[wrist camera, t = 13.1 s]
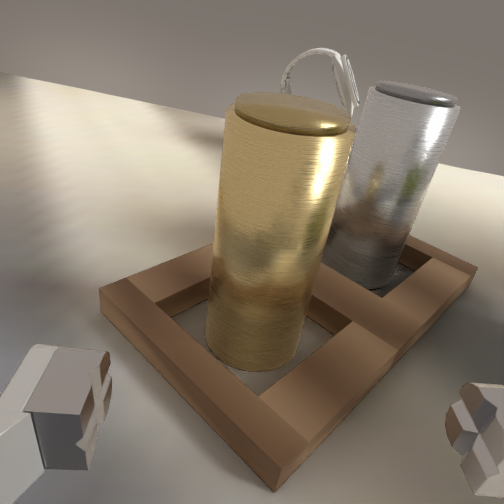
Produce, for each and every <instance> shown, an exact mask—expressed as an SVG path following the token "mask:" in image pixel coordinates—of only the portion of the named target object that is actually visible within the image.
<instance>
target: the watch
mask: <svg viewBox="0 0 504 504" xmlns="http://www.w3.org/2000/svg"><path fill="white" fill-rule="evenodd" d="M315 53H317V54H326V55H329V56H331V61H332V62H333V74H334V78H335V82H336V86H337V90H338V93H339V96H340V99H341V102H342V104H343V106H344V107H345V108H346V109H347V113H349V114H350V116H352V114H353V109H354V107H355V106H359V97H358V92H357V87H356V83H355V79H354V75H353V72H352V69H351V65H350V62H349V60H348V58H347V56H346V55H343V57H341V56H340V55H339V53H338V52H336V51H334V50H331V49H326V48H315V49H311V50H309V51H306V52H304V53H302V54H301V55H299V56H298V57H296V58H295V59H294V60H293V61H292V62H291V63H290V64H289V65H288V67H287V68H286V70H285V73H284V74H283V77H282V83H281V85H280V93H281V94H289V95H292V94H291V86H290V77H289V74H290V71H291V69H292V68H293V66H294V65H295V63H296V62H297V61H298V60H300V59H301V58H303V57H305V56H307V55H311V54H315Z"/></svg>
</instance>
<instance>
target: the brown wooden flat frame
mask: <svg viewBox="0 0 504 504" xmlns="http://www.w3.org/2000/svg"><path fill="white" fill-rule="evenodd" d="M212 254H213V244H210V245H208V246H205V247H203V248H200V249H197V250H195V251H192V252H190V253H187V254H185V255H182V256H180V257H177V258H175V259H172V260H170V261H167V262H165V263H162V264H159V265H157V266H154V267H152V268H149V269H147V270H144V271H142V272H139V273H137V274H134V275H132V276H129V277H126V278H124V279H121V280H119V281H116V282H114V283H111V284H109V285H106V286H104V287H101V288H99V296H100V306H101V312H102V313H103V314H104V315H105V316H106V317H107V318H108V319H109V320H110V321H111V322H112V323H113V325H114V326H115V327H116V328H117V329H118V330H119V331H120V332H121V333H122V334H123V335H124V336H125V337H126V338H127V339H128V340H129V341H130V342H131V343H132V344H133V345H134V346H135V348H136V349H137V350H138V351H139V352H140V353H141V354H142V355H143V356H144V357H145V358H146V359H147V360H148V361H149V362H150V363H151V364H152V365H153V366H154V367H155V368H156V369H157V370H158V372H159V373H160V374H161V375H162V376H163V377H164V378H165V379H166V380H167V381H168V382H169V383H170V384H171V385H172V386H173V387H174V388H175V389H176V390H177V391H178V392H179V393H180V395H181V396H182V397H183V398H184V399H185V400H186V401H187V402H188V403H189V404H190V405H191V406H192V407H193V408H194V409H195V410H196V411H197V412H198V413H199V414H200V415H201V416H202V418H203V419H204V420H205V421H206V422H207V423H208V424H209V425H210V426H211V427H212V428H213V429H214V430H215V431H216V432H217V433H218V434H219V435H220V436H221V437H222V438H223V439H224V441H225V442H226V443H227V444H228V445H229V446H230V447H231V448H232V449H233V450H234V451H235V452H236V453H237V454H238V455H239V456H240V457H241V458H242V459H243V460H244V461H245V462H246V463H247V465H248V466H249V467H250V468H251V469H252V470H253V471H254V472H255V473H256V474H257V475H258V476H259V477H260V478H261V479H262V480H263V481H264V482H265V483H266V484H267V485H268V486H269V488H270V489H271V490H272V491H273V492H274V493H275V491H276V490H277V489H278V488H279V487H280V486H281V485H282V484H283V483H284V482H285V481H286V480H287V479H288V478H289V477H290V476H291V474H292V473H293V472H294V471H295V470H296V469H297V468H298V467H299V466H300V465H301V464H302V463H303V462H304V461H305V460H306V458H307V457H308V456H309V455H310V454H311V453H312V452H313V451H314V450H315V449H316V448H317V447H318V446H319V445H320V444H321V443H322V441H323V440H324V439H325V438H326V437H327V436H328V435H329V434H330V433H331V432H332V431H333V430H334V429H335V428H336V427H337V426H338V424H339V423H340V422H341V421H342V420H343V419H344V418H345V417H346V416H347V415H348V414H349V413H350V412H351V411H352V410H353V409H354V407H355V406H356V405H357V404H358V403H359V402H360V401H361V400H362V399H363V398H364V397H365V396H366V395H367V394H368V393H369V391H370V390H371V389H372V388H373V387H374V386H375V385H376V384H377V383H378V382H379V381H380V380H381V379H382V378H383V377H384V376H385V374H386V373H387V372H388V371H389V370H390V369H391V368H392V367H393V366H394V365H395V364H396V363H397V362H398V361H399V360H400V359H401V357H402V356H403V355H404V354H405V353H406V352H407V351H408V350H409V349H410V348H411V347H412V346H413V345H414V344H415V343H416V342H417V340H418V339H419V338H420V337H421V336H422V335H423V334H424V333H425V332H426V331H427V330H428V329H429V328H430V327H431V326H432V324H433V323H434V322H435V321H436V320H437V319H438V318H439V317H440V316H441V315H442V314H443V313H444V312H445V311H446V310H447V309H448V307H449V306H450V305H451V304H452V303H453V302H454V301H455V300H456V299H457V298H458V297H459V296H460V295H461V294H462V293H463V292H464V290H465V289H466V288H467V287H468V286H469V285H470V283H471V281H472V279H473V277H474V275H475V273H476V271H477V269H478V267H476V266H473V265H471V264H469V263H467V262H465V261H463V260H461V259H459V258H457V257H454V256H452V255H450V254H448V253H446V252H444V251H442V250H440V249H437V248H435V247H433V246H431V245H429V244H427V243H425V242H423V241H420V240H418V239H416V238H414V237H412V236H410V235H409V236H408V238H407V241H406V243H405V246H404V248H403V251H402V253H401V255H400V258H399V260H398V262H400V263H401V264H403V265H405V266H407V267H409V268H411V269H413V270H415V272H414V273H413V274H412V275H410V276H409V277H408V278H406V279H405V280H404V281H403V282H401V283H400V284H399V285H398V286H396V287H395V288H394V289H393V290H391V291H390V292H389V293H388V294H386V295H385V296H384V297H383V298H381V297H379V296H378V295H376V294H374V293H372V292H371V291H369V290H367V289H366V288H364V287H362V286H360V285H359V284H357V283H355V282H354V281H352V280H350V279H349V278H347V277H345V276H343V275H342V274H340V273H338V272H337V271H335V270H333V269H331V268H330V267H328V266H326V265H325V264H323V263H320V267H319V270H318V274H317V278H316V282H315V285H314V289H313V293H312V296H311V300H310V304H309V307H308V311H307V316H308V317H310V318H311V319H312V320H314V321H315V322H317V323H318V324H320V325H321V326H323V327H324V328H326V329H327V330H328V331H330V332H331V333H333V334H334V335H335V336H334V337H332V338H331V339H330V340H329V341H327V342H326V343H325V344H324V345H322V346H321V347H320V348H319V349H317V350H316V351H315V352H314V353H312V354H311V355H310V356H309V357H307V358H306V359H305V360H304V361H302V362H301V363H300V364H299V365H297V366H296V367H295V368H294V369H292V370H291V371H290V372H289V373H287V374H286V375H285V376H284V377H282V378H281V379H280V380H279V381H277V382H276V383H275V384H273V385H272V386H271V387H270V388H268V389H267V390H266V391H265V392H263V393H262V394H261V395H260V396H257V395H256V394H255V393H254V392H253V391H252V390H250V389H249V388H248V387H247V386H246V385H245V384H244V383H243V382H242V381H240V380H239V379H238V378H237V377H236V376H235V375H234V374H233V373H232V372H230V371H229V370H228V369H227V368H226V367H225V366H224V365H223V364H222V363H220V362H219V361H218V360H217V359H216V358H215V357H214V356H213V355H212V354H210V353H209V352H208V351H207V350H206V349H205V348H204V347H203V346H202V345H200V344H199V343H198V342H197V341H196V340H195V339H194V338H193V337H192V336H190V335H189V334H188V333H187V332H186V331H185V330H184V329H183V328H182V327H180V326H179V325H178V324H177V323H176V322H175V321H174V320H173V319H172V318H171V317H173V316H175V315H177V314H179V313H181V312H182V311H184V310H186V309H188V308H190V307H192V306H194V305H196V304H198V303H200V302H202V301H204V300H206V299H208V296H209V285H210V275H211V264H212Z"/></svg>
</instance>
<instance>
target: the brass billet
mask: <svg viewBox="0 0 504 504" xmlns="http://www.w3.org/2000/svg"><path fill="white" fill-rule="evenodd" d="M350 120H351V116H350V114H349V113H347V112H346V111H344V110H343V109H341V108H338V107H337V106H334V105H331V104H329V103H325V102H322V101H318V100H314V99H311V98H306V97H301V96H296V95H289V94H281V93H268V92H256V93H246V94H242V95H239V96H237V97H236V103H234V104H231V105H229V106H228V107H227V109H226V118H225V128H224V139H223V149H222V160H221V170H220V181H219V191H218V201H217V212H216V222H215V233H214V243H213V254H212V264H211V275H210V285H209V296H208V306H207V317H206V327H205V338H206V342H207V344H208V346H209V348H210V350H211V351H212V352H213V354H214V355H215V356H216V357H218V358H219V359H220V360H221V361H223V362H224V363H226V364H228V365H230V366H232V367H235V368H237V369H241V370H245V371H252V372H263V371H270V370H274V369H277V368H279V367H281V366H283V365H285V364H286V363H288V362H289V361H290V360H291V359H292V358H293V357H294V355H295V353H296V351H297V348H298V344H299V341H300V337H301V333H302V330H303V326H304V322H305V318H306V315H307V311H308V307H309V304H310V300H311V296H312V293H313V289H314V285H315V282H316V278H317V274H318V270H319V267H320V263H321V259H322V256H323V252H324V248H325V245H326V241H327V237H328V234H329V230H330V226H331V222H332V219H333V215H334V211H335V208H336V204H337V200H338V197H339V193H340V189H341V186H342V182H343V178H344V174H345V171H346V167H347V163H348V160H349V156H350V152H351V149H352V145H353V141H354V138H355V134H356V128H355V126H354V125H352V124H351V123H350Z"/></svg>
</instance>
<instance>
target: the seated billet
mask: <svg viewBox="0 0 504 504" xmlns="http://www.w3.org/2000/svg"><path fill="white" fill-rule="evenodd" d="M457 99H458V98H457V97H455V96H453V95H450V94H447V93H444V92H440V91H437V90H433V89H429V88H425V87H420V86H416V85H411V84H406V83H400V82H393V81H384V80H379V81H377V84H376V87H370V88H369V91H368V95H367V98H366V101H365V105H364V109H363V112H362V115H361V119H360V122H359V126H358V129H357V133H356V136H355V139H354V143H353V146H352V150H351V153H350V156H349V160H348V163H347V167H346V171H345V174H344V178H343V182H342V186H341V189H340V193H339V197H338V200H337V204H336V208H335V211H334V215H333V219H332V222H331V226H330V230H329V234H328V237H327V241H326V245H325V248H324V252H323V256H322V259H321V263H323V264H325V265H326V266H328V267H330V268H331V269H333V270H335V271H337V272H338V273H340V274H342V275H343V276H345V277H347V278H349V279H350V280H352V281H354V282H355V283H357V284H359V285H360V286H362V287H364V288H366V289H377V288H382V287H384V286H386V285H387V284H388V283H389V282H390V280H391V277H392V275H393V273H394V270H395V268H396V265H397V263H398V260H399V258H400V255H401V253H402V251H403V248H404V246H405V243H406V241H407V238H408V236H409V233H410V231H411V229H412V226H413V224H414V221H415V219H416V216H417V214H418V211H419V209H420V206H421V204H422V202H423V199H424V197H425V194H426V192H427V189H428V187H429V184H430V182H431V180H432V177H433V175H434V172H435V170H436V167H437V165H438V162H439V160H440V158H441V155H442V153H443V150H444V148H445V145H446V143H447V140H448V138H449V135H450V133H451V131H452V128H453V126H454V123H455V121H456V118H457V116H458V113H459V111H460V108H461V107H460V106H458V105H456V102H457Z"/></svg>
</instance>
